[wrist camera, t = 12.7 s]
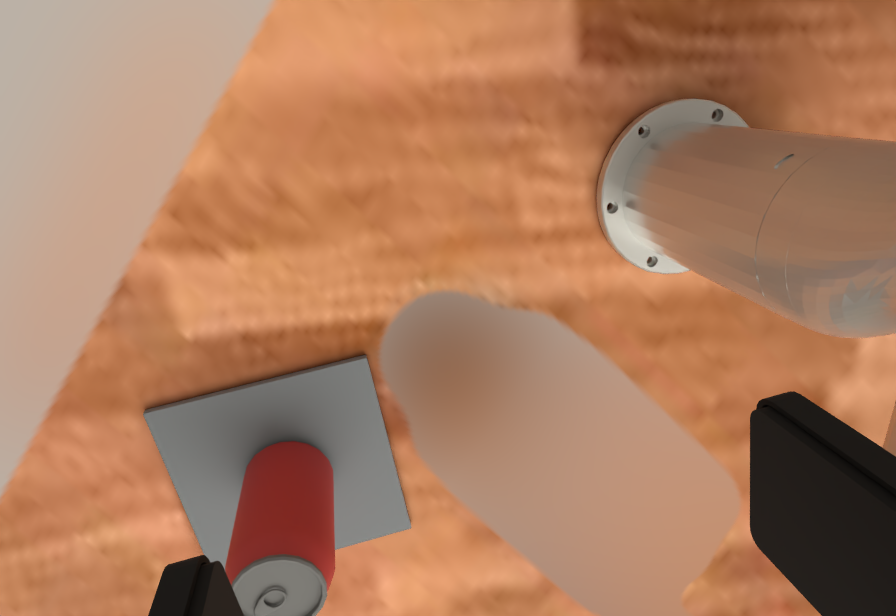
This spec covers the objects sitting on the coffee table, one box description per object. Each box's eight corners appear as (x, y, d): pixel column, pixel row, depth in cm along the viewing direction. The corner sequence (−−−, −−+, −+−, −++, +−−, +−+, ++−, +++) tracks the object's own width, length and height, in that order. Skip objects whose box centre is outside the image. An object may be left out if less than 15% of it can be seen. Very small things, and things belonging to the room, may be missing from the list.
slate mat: (366, 354, 45) (366, 357, 44) (410, 523, 51) (411, 528, 50) (145, 409, 43) (142, 413, 43) (218, 577, 49) (216, 583, 48)
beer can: (225, 479, 45) (193, 606, 34) (286, 420, 45) (273, 531, 34) (293, 524, 48) (283, 656, 37) (351, 469, 47) (359, 587, 36)
